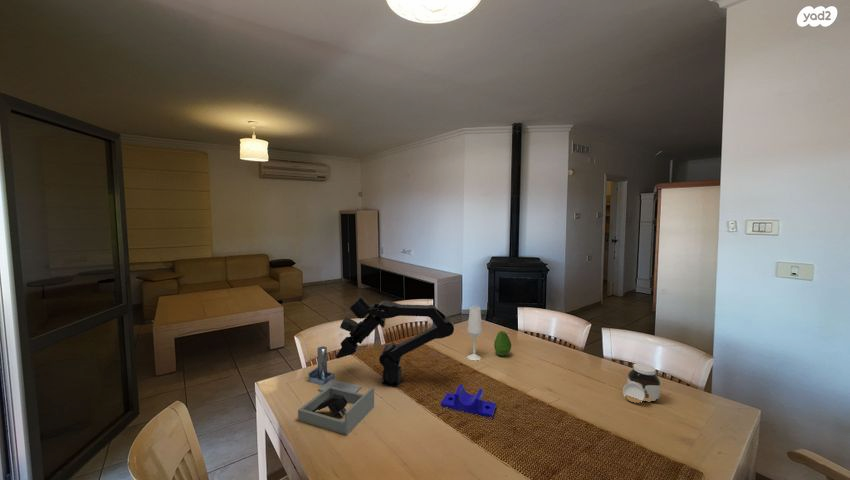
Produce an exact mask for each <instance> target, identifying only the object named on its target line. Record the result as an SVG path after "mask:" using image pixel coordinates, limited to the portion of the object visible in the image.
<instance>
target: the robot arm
mask: <svg viewBox="0 0 850 480" xmlns="http://www.w3.org/2000/svg"><path fill="white" fill-rule="evenodd" d="M348 310H350V311H351V313H352V314H353V315H355V316H356V317H357V319H360V320H361V319H363V320H361V321H359V322H357V321H355V320H353V319H351V318H350V317H346V316H345V318H344V319H342V321H341V323H340V326H339V328H340V329H341V330H345V331H346V332H349V333H348V334H349V336H345V338H343V340H342V341H341V342H340V346H341V348H340V349H339V351H338V353H336V356H335V358H336V359H342V358H344V357H346V356H353V355H354V354H355V353H356V352H357V351H358V350H359V349H358V348H359V344H360V345H361V344H362V343H363V342H364V340H365V339H367V338H368V337H369V336H370V335H371V334H372V332H373V331H374V330H376V328H378V327H379V326H380V327H381V328H382V329H383V328H385V326H386V319H393V318H396V317H403V316H404V317H428V318H429V319H430V320H431V322H433V323H434V324H432V326H431V327H430V328H428V329H426V330H424V331H422V332H420V333H418V334H416V335H414V336H412V337H410V338H408V339H407V340H404V341H402V342H401V343H397V344H395V341H391V342H390V343H389V344H385V345H384V348H383V349H382V350H381V352H380V355H379V358H378V359H379V364H380V365H381V366H383V370H382V380H383V381H382V382H381V385H383V386H384V385H385V386H390V387H393V388H397V387H398V386H399V385H400V384H401V383H402V382H403V380H404V379H403V377H402V366H400V364H401V361H402V357H403V356H404V355H406V354H408V353H410V352H412V351H414V350H416V349H418V348H420V347H421V346H424V345H426V344H427V343H429V342H432V341H433V340H436V339H437V340H439V339H444V338H445V339H446V338H447V337H451V335H453V334H454V331H455V326H454V322H453V319H452V318H450V317H448V316H446V315H445V314H444V313H443V312H442V311H440V309H438V308H437V307H436V306H435V305H434V304H428V305H427V304H402V303H397V302H394V301H389V300H383V301H381V302H380V303H372V304H369V303H368V301H366V299H365V297H363V296H360V298H358V299H357V300H355V302H353V304H352V305H351V306H350V307H349V308H348Z"/></svg>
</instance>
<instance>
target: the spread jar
mask: <svg viewBox="0 0 850 480" xmlns="http://www.w3.org/2000/svg"><path fill="white" fill-rule="evenodd" d="M656 370H657V369H656V368H655V367H654V366H652V365H650V364H646V363H641V362H640V363H639V362H637V363H634V364H633V368H632V369H631V370H630V371H629V372H628V374H627V382H626V384H625V385H624V386H623V388H622V394H623V396H624V397H625V396H626V395H628V396H631V397H634V398H637V399H639V400H642V401H644V399H645V398H651V399H658V398H659V399H660V395H661V381H660V378H659V377H658V375H657V374H656ZM659 399H658V400H659ZM642 401H641V403H643V402H642Z"/></svg>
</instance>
